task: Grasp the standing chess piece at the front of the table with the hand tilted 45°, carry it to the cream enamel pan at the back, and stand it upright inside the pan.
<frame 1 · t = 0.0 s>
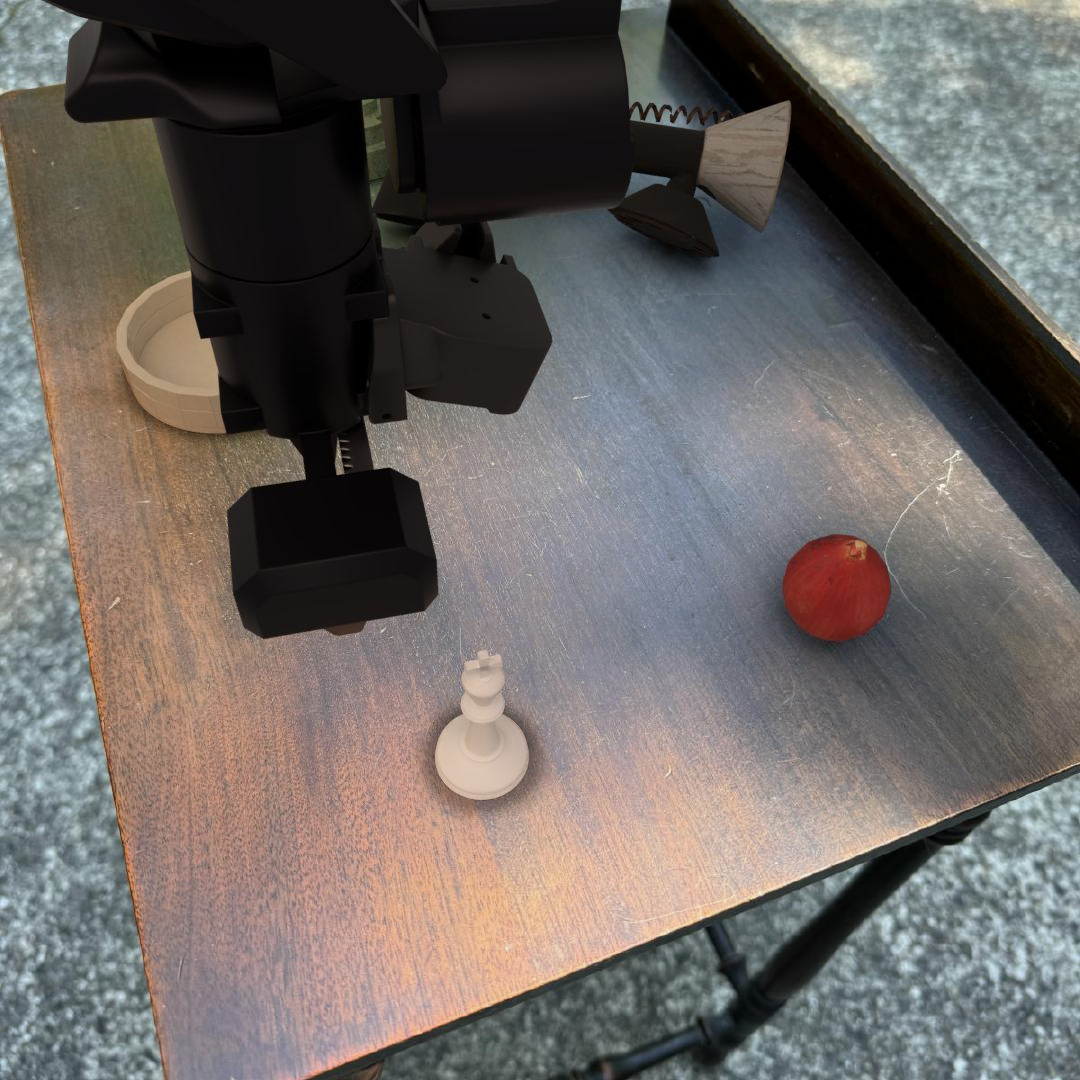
hand: (335, 542, 43), 15 cm above the table, tool pointing down, fingers open, 9 cm apart
chess piece: (482, 757, 54), on the table
decorative artifact: (354, 152, 89), on the table
onion: (817, 626, 60), on the table
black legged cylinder: (571, 227, 84), on the table
pan: (230, 365, 71), on the table
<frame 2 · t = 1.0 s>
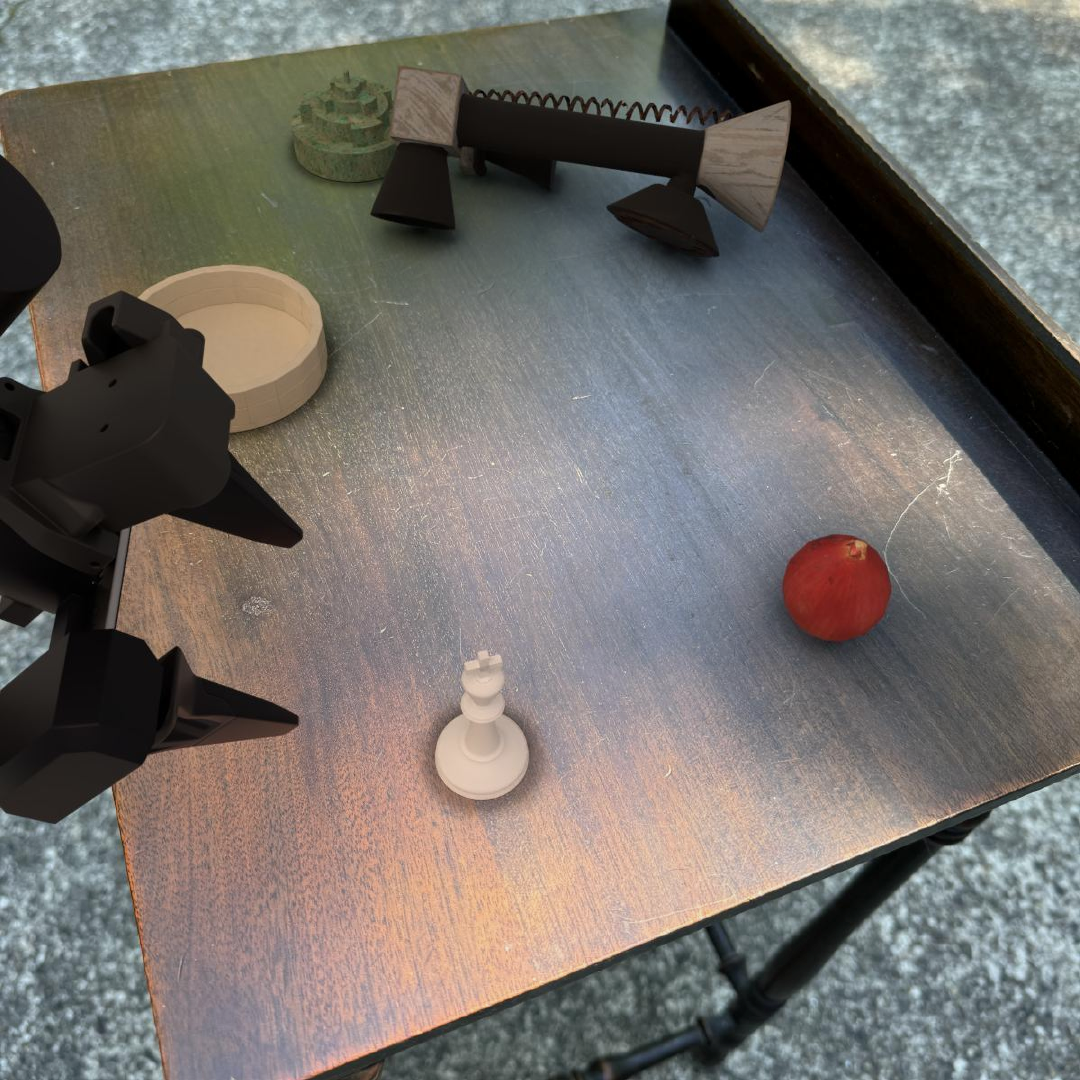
hand: (295, 627, 42), 13 cm above the table, tool tilted 45°, fingers open, 9 cm apart
nothing on the table moved.
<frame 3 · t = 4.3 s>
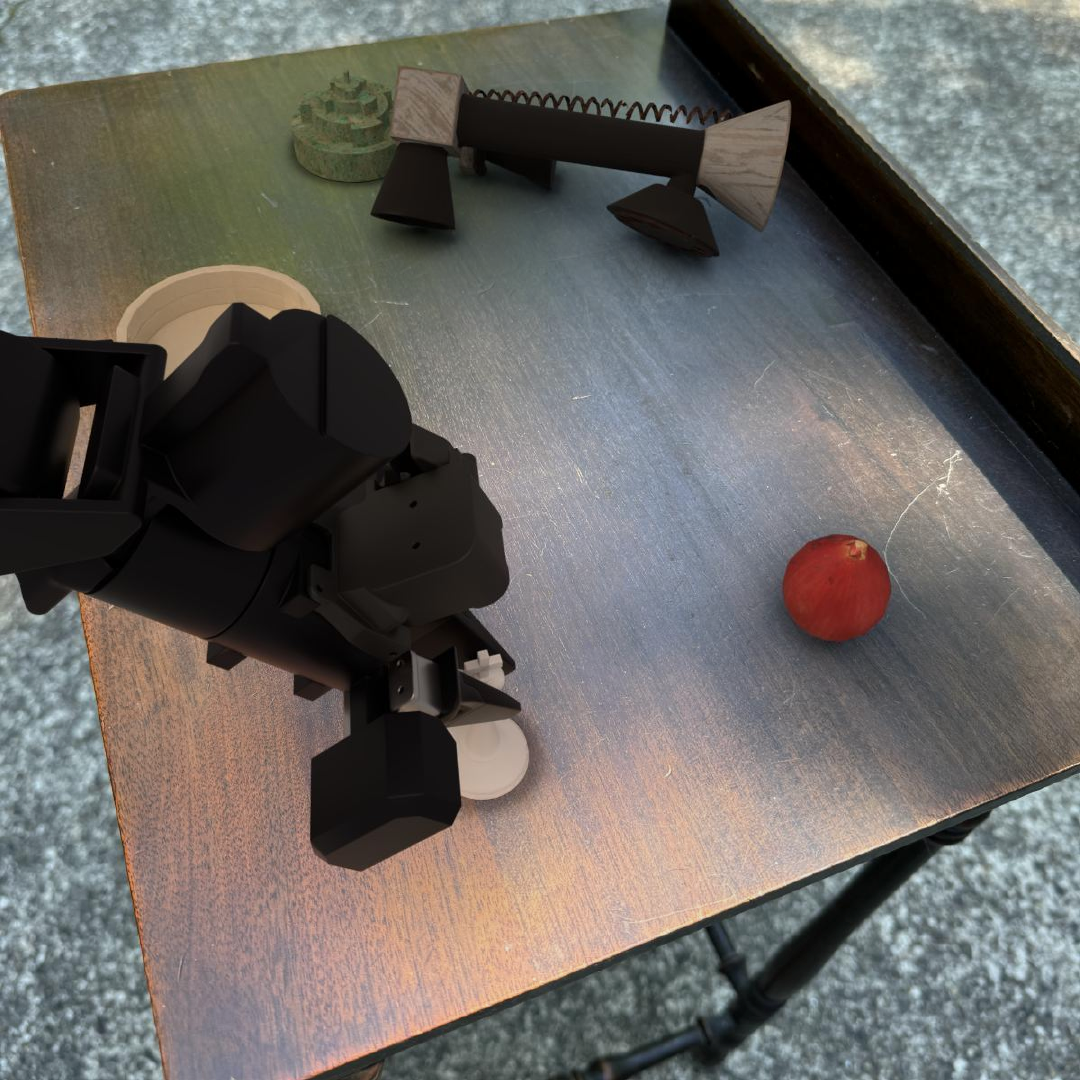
hand: (511, 691, 48), 7 cm above the table, tool tilted 45°, fingers closed on chess piece
chess piece: (482, 757, 54), on the table, touching gripper
everything else where it was.
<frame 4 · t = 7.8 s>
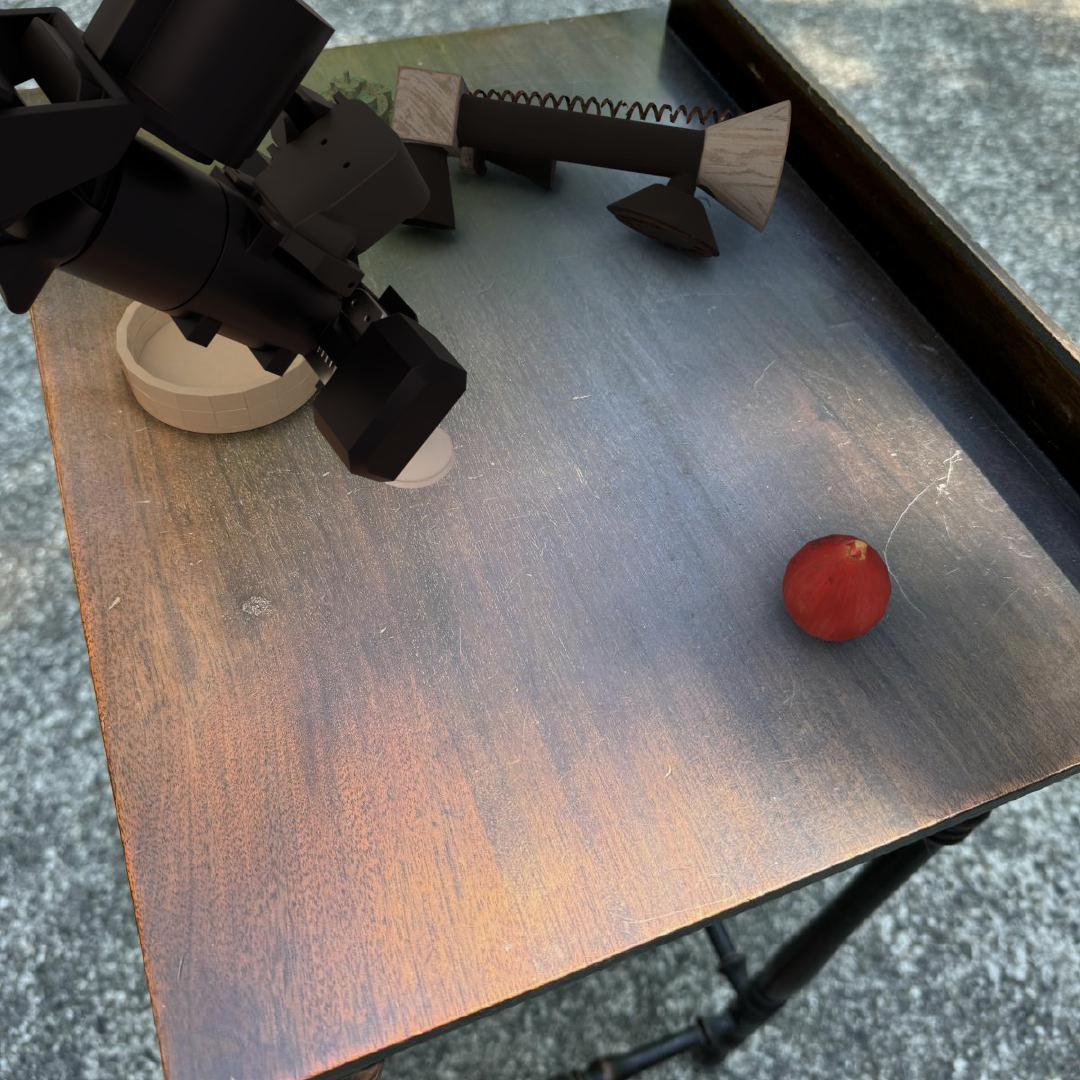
hand: (428, 360, 53), 13 cm above the table, tool tilted 45°, fingers closed on chess piece
chess piece: (411, 459, 58), point 6 cm above the table, touching gripper
everything else where it was.
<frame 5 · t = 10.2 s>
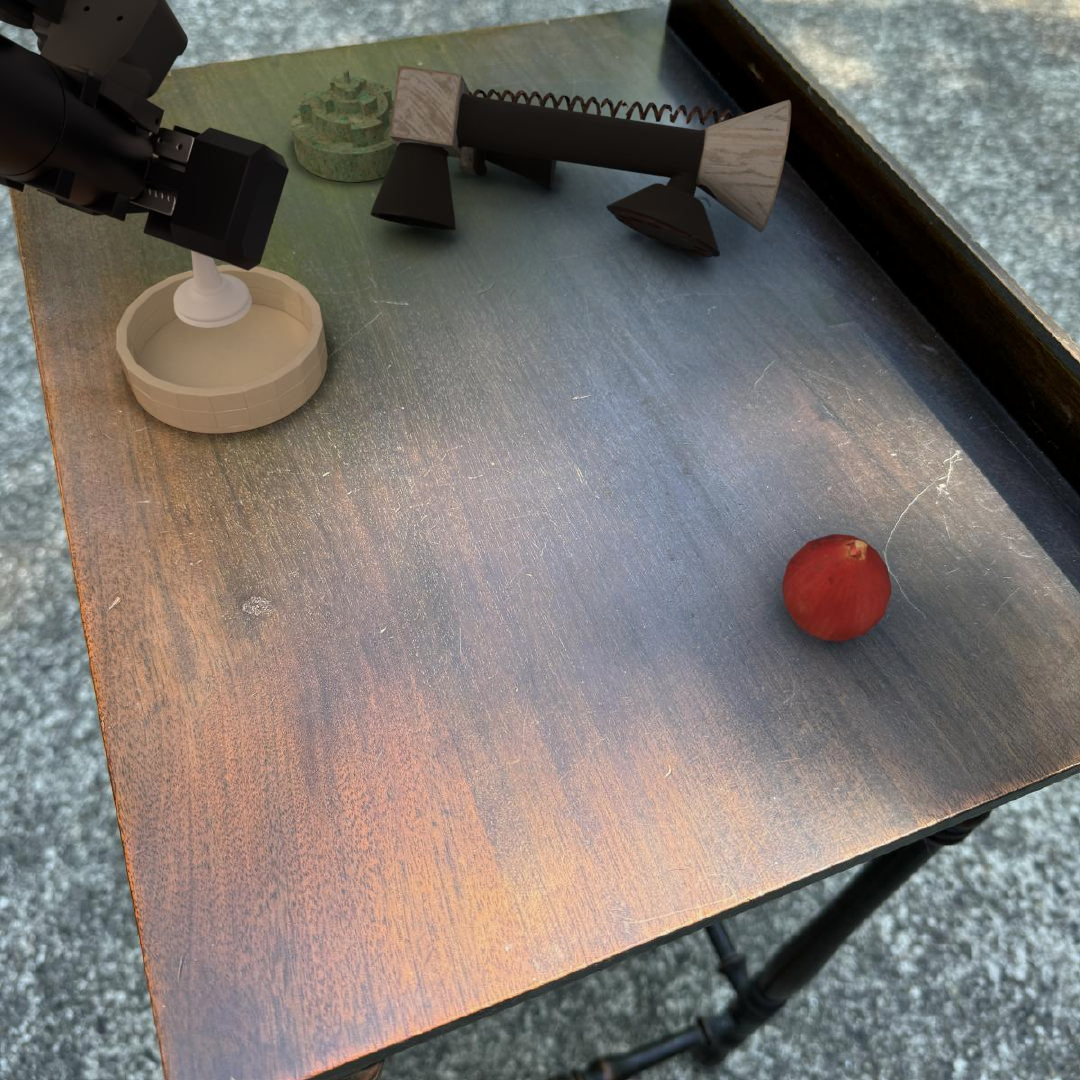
hand: (205, 205, 62), 12 cm above the table, tool tilted 45°, fingers closed on chess piece
chess piece: (213, 306, 67), point 5 cm above the table, touching gripper
everything else where it was.
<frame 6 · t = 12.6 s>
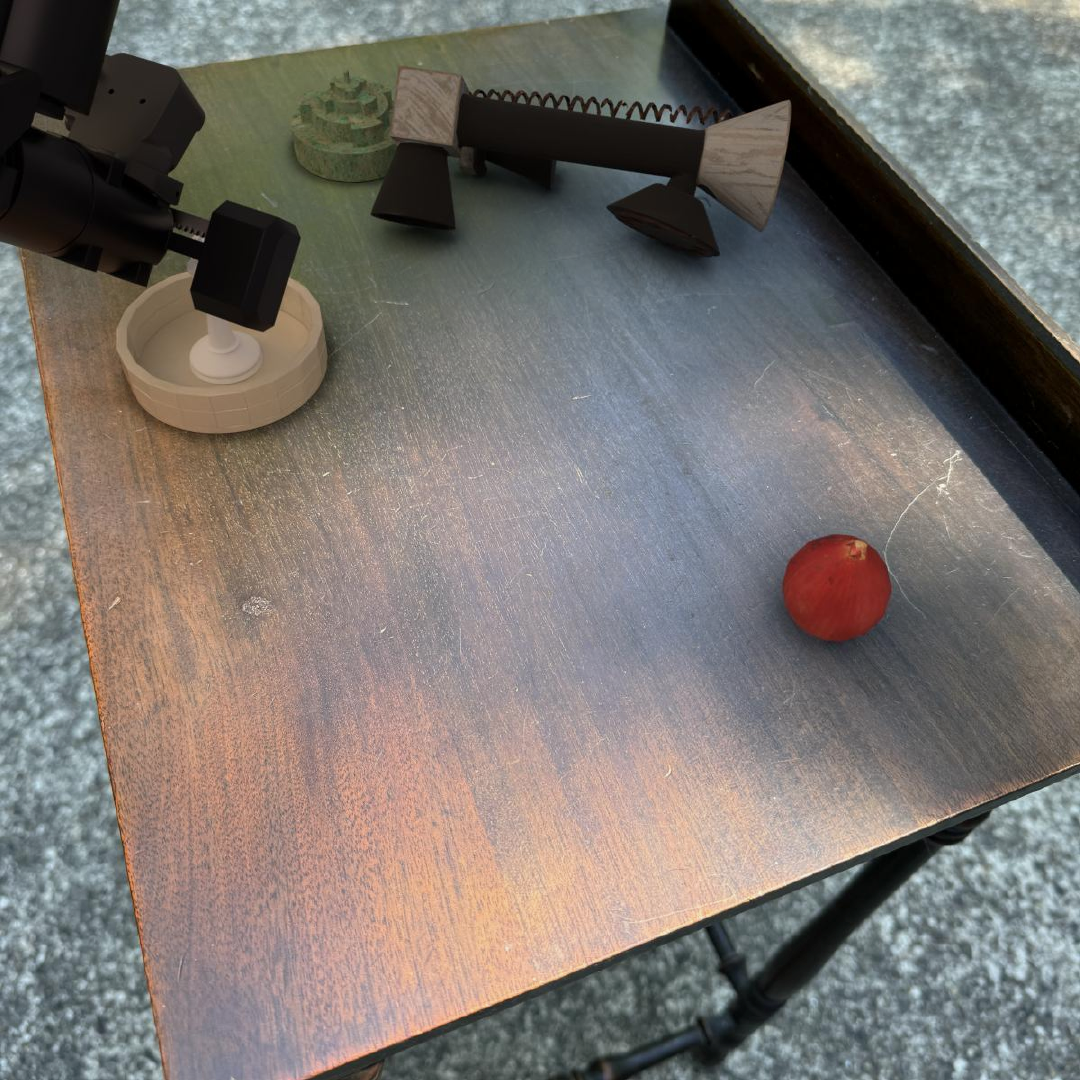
hand: (220, 261, 66), 8 cm above the table, tool tilted 45°, fingers open, 9 cm apart
chess piece: (227, 362, 71), resting on pan
everything else where it was.
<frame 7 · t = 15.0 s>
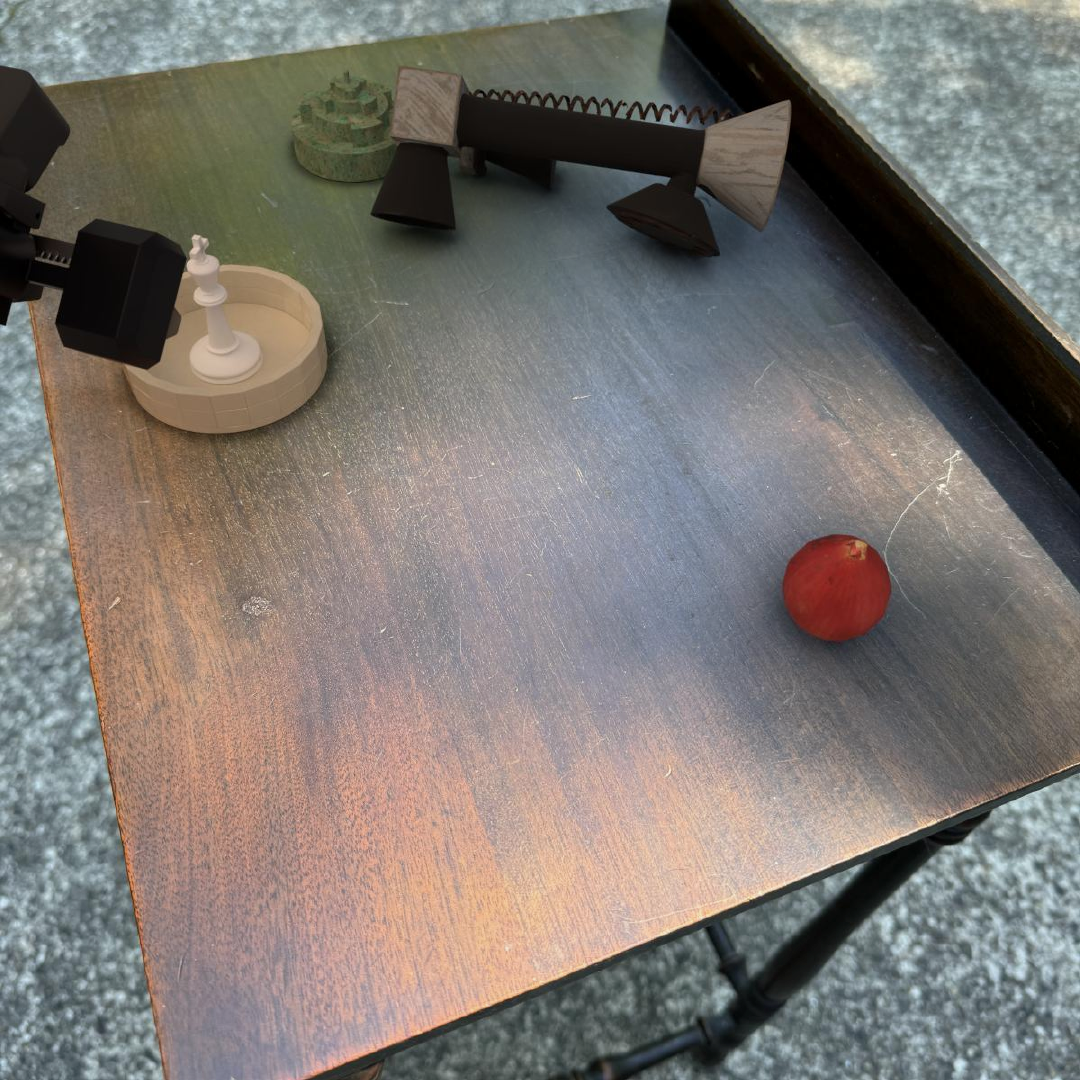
hand: (107, 307, 58), 11 cm above the table, tool tilted 40°, fingers open, 9 cm apart
nothing on the table moved.
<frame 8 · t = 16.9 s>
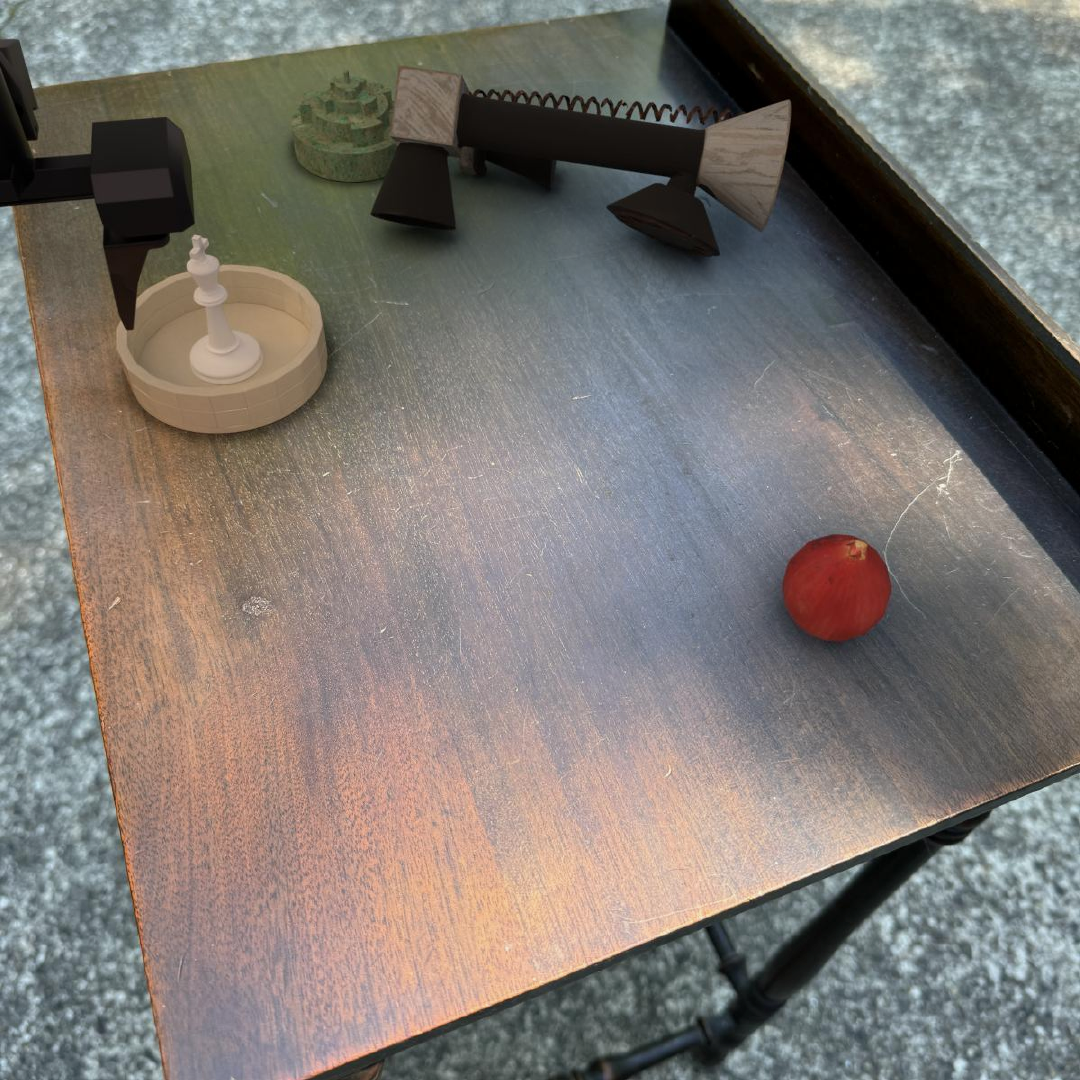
hand: (37, 335, 53), 13 cm above the table, tool pointing down, fingers open, 9 cm apart
nothing on the table moved.
at the end: chess piece inside the target area in the pan (0.2 cm from its centre), point 0.4 cm above the pan's base; chess piece tilted 0°; the gripper is holding nothing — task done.
